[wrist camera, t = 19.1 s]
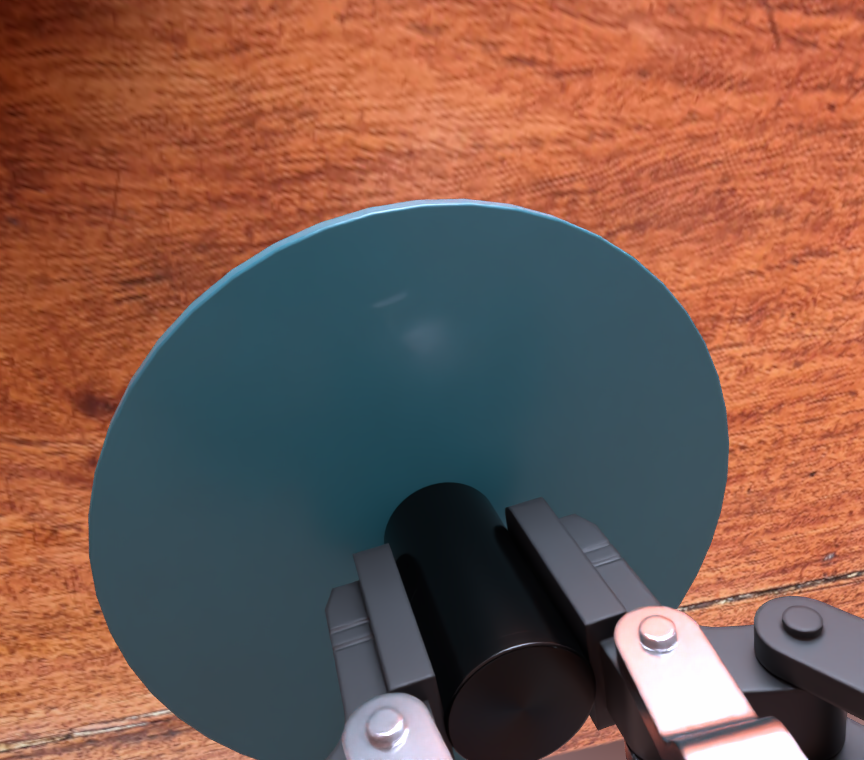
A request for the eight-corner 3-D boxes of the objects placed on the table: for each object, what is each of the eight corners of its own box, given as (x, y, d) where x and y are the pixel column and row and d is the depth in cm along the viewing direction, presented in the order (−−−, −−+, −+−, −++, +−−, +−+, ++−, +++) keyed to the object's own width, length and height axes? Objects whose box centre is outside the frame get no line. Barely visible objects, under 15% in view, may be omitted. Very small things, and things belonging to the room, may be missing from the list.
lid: (212, 811, 18) (208, 1113, 13) (-22, 290, 13) (-197, 447, 7) (708, 637, 20) (878, 837, 15) (691, 126, 15) (953, 157, 10)
